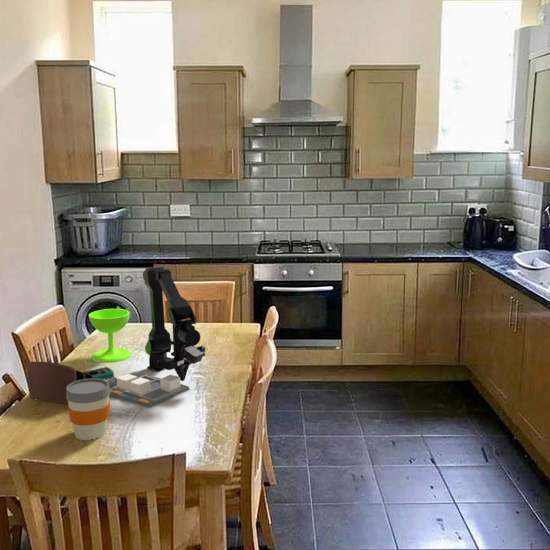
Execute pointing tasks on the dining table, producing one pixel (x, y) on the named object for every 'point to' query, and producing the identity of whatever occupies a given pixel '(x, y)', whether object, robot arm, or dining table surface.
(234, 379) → the dining table surface
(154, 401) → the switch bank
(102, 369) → the digital multimeter
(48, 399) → the letter holder
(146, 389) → the cream block
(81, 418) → the reusable coffee cup
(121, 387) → the white block
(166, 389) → the cream square block
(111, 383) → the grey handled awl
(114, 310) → the wineglass
